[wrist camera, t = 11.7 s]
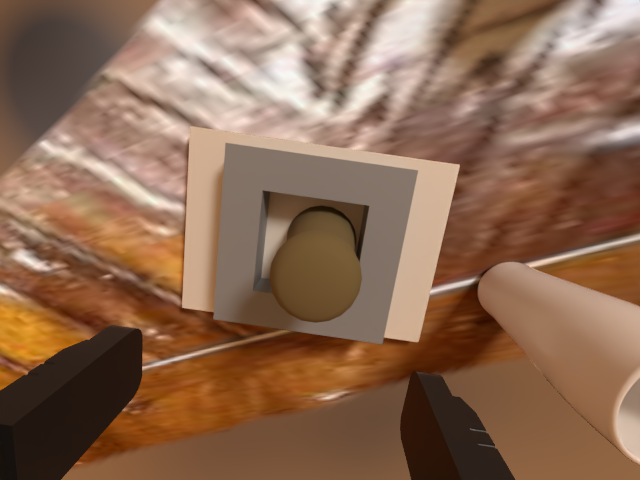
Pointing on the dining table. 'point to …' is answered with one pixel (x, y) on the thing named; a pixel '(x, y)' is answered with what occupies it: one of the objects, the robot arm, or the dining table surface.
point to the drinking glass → (574, 345)
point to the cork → (317, 266)
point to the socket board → (286, 203)
